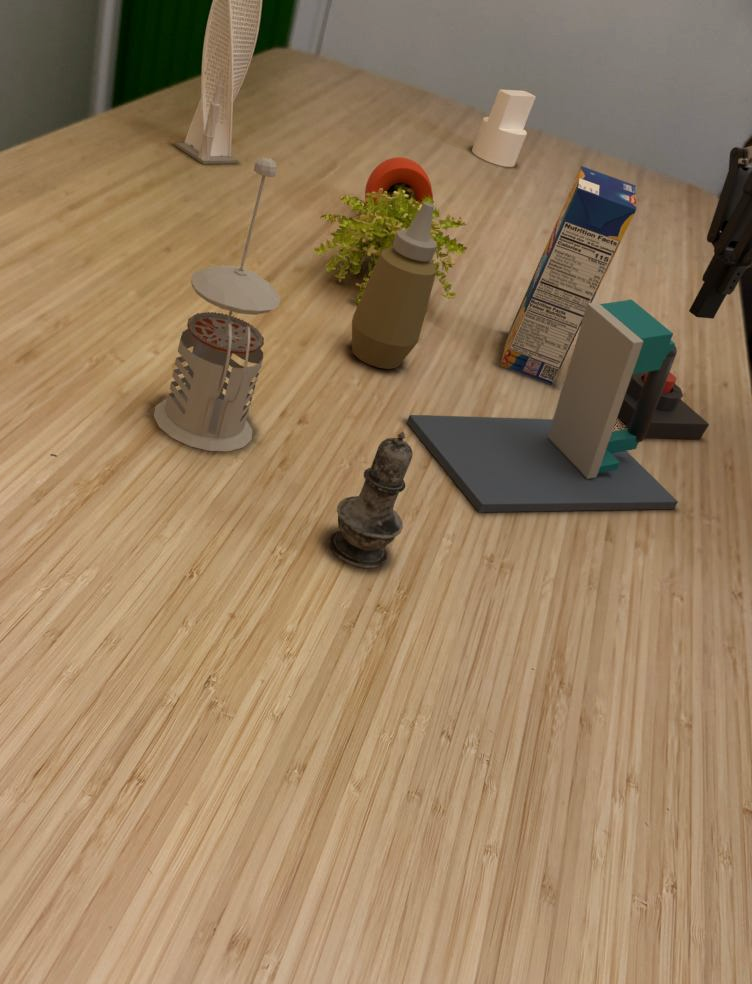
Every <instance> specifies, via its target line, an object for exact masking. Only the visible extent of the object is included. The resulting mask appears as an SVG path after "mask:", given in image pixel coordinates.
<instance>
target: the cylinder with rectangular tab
mask: <svg viewBox="0 0 752 984" xmlns="http://www.w3.org/2000/svg"><path fill="white" fill-rule="evenodd" d="M536 98H537V96H536V95H534V94H532V93H530V92H529V91H526V90H520V89H519V90H517V89H516V90H515V89H498V91H497V93H496V97H495V100H494V102H493V105H492V107H491V110H490V112H489V116H485V117H483V118H482V121H481V124H480V127H479V130H478V131H477V132H478V133H477V134H476V138H475V141H474V143H473V146H472V149H471V152H472V153H473V154H474V155H475V156H476V157H478V158H479V159H481V160H483V161H486V162H488V163H491V164H494V165H497V166H501V167H505V168H506V167H507V168H512V167H515V166H516V164H517V161H518V159H519V155H520V153H521V151H522V148H523V146H524V143H525V140H526V139H527V135H528V132H527V131H526V129H524V128H525V126H526V123H527V121H528V118H529V116H530V114H531V110H532V108H533V107H534V104H535V102H536V101H535V100H536Z"/></svg>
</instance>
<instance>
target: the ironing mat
mask: <svg viewBox="0 0 752 984" xmlns="http://www.w3.org/2000/svg"><path fill="white" fill-rule="evenodd" d="M552 421H553V418H524V417H522V418H521V417H491V416H461V415H460V416H459V415H458V416H457V415H431V414H430V415H429V414H409V415H408V418H407V421H406V424H407V425H408V426H409V427H410V429H411V430H412V431H413V432H414V433H415V435H416V436H417V438H419V440H420V441H421V442H422V444H423V445H424V446H425V447H426V448H427V450H428V451H429V453H430V454H431V455H432V456H433V457H434V459H435V460H436V461H437V463H439V465H440V466H441V467H442V469H443V470H444V471H445V472H446V474H447V475H448V476H449V477H450V478H451V480H452V481H453V482H454V483H455V485H456V486H457V488H459V490H460V491H461V492H462V493H463V495H464V496H465V497H466V498H467V500H468V501H469V503H470V504H472V506H473V507H474V509H476V511H477V512H478V513H507V512H508V513H510V512H511V513H512V512H515V513H516V512H517V513H518V512H567V511H568V512H570V511H571V512H573V511H576V512H577V511H628V510H629V511H630V510H631V511H632V510H640V511H641V510H675V508H676V506H677V504H678V503H679V501H678V500H677V499H676V498H675V497H674V496H673V495H672V494H671V493H670V492H669V491H668V490H667V489H666V488H665V487H664V486H663V485H662V484H661V483H660V482H659V481H658V480H657V479H656V478H655V476H653V475H652V474H650V472H649V471H648V470H646V468H645V467H644V466H642V465H641V463H639V462H638V461H637V459H636V458H635V457H634V456H632V455H631V454H630V453H629V452H628V451H623V452H618V453H613V454H612V455H613V456H614V457H615V458H616V459H617V460H618V461H619V462H620V464H619V466H618V469H617V470H613V471H608V472H603V473H598V474H597V477H594V478H589V479H587V478H586V477H585V476H584V475H583V474H582V473H581V472H580V471H579V470H578V469H577V467H576V466H575V465H574V464H573V463H572V462H571V461H570V460H569V459H568V458H567V457H566V456H565V455H564V454H563V453H562V452H561V451H560V450H559V448H558V447H557V446H556V445H555V444H554V443H553V442H552V441H551V440H550V439H549V438H548V435H549V431H550V428H551V425H552Z"/></svg>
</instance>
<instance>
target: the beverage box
mask: <svg viewBox="0 0 752 984" xmlns="http://www.w3.org/2000/svg"><path fill="white" fill-rule="evenodd" d="M636 186H637V185H635V184H633V183H630V182H627V181H624V180H621V179H619V178H616V177H614V176H610V175H607V174H605V173H603V172H600V171H597V170H594V169H592V168H588V167H586V166H583V165H580V168H579V169H578V172H577V174H576V176H575V179H574V181H573V183H572V186H571V188H570V191H569V193H568V195H567V197H566V199H565V202H564V204H563V206H562V208H561V211H560V213H559V216H558V218H557V220H556V223H555V224H554V227H553V229H552V232H551V234H550V237H549V238H548V241H547V243H546V245H545V248H544V250H543V252H542V255H541V257H540V259H539V262H538V264H537V266H536V268H535V271H534V273H533V275H532V278H531V279H530V282H529V284H528V287H527V289H526V292H525V294H524V296H523V299H522V300H521V303H520V304H519V305H520V306H519V308H518V309H517V312H516V315H515V316H514V319H513V322H512V324H511V326H510V328H509V331H508V333H507V336H506V340H505V345H504V349H503V353H502V357H501V361H500V367H502V368H505V369H507V370H510V371H512V372H516V373H518V374H521V375H524V376H527V377H529V378H532V379H534V380H536V381H540V382H542V383H546V384H548V385H550V386H553V384H554V383H555V379H556V378H557V376H558V374H559V372H560V369H561V367H562V366H563V363H564V361H565V359H566V357H567V355H568V353H569V351H570V349H571V347H572V345H573V343H574V340H575V338H576V336H577V335H578V333H579V330H580V327H581V323H582V320H583V317H584V313H585V310H586V307H587V304H588V303H592V302H594V301H593V300H595V296H596V294H597V293H598V291H599V288H600V286H601V284H602V282H603V280H604V278H605V276H606V274H607V272H608V269H609V267H610V265H611V264H612V261H613V260H614V257H615V255H616V253H617V251H618V249H619V247H620V245H621V242H622V240H623V238H624V237H625V234H626V232H627V230H628V228H629V226H630V224H631V221H632V220H633V217H634V215H635V213H636V211H637V190H636V189H637V187H636Z"/></svg>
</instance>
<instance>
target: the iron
mask: <svg viewBox="0 0 752 984" xmlns="http://www.w3.org/2000/svg"><path fill="white" fill-rule="evenodd" d="M673 335H674V332H672V331H671V330H670V329H669V328H667V327H666V326H665V325H664V324H662V323H661V322H660V321H659V320H657V319H656V318H655V317H654V316H652V315H651V314H650V313H649V312H648V311H647V310H645V308H643V307H641V306H640V305H639V304H638V303H637V302H635V301H634V300H633V299H625V300H618V301H613V302H606V303H600V302H598V301H592V303H588V304H587V307H586V310H585V313H584V317H583V320H582V323H581V326H580V328H579V330H578V333H577V337H576V340H575V343H574V347H573V349H572V353H571V357H570V361H569V364H568V368H567V371H566V374H565V376H564V377H565V378H564V380H563V384H562V387H561V392H560V395H559V398H558V402H557V405H556V408H555V411H554V415H553V418H552V419H553V421H552V425H551V428H550V431H549V435H548V438H549V439H550V440H551V441H552V442H553V443H554V444H555V445H556V446H557V447H558V448H559V450H560V451H561V452H562V453H563V454H564V455H565V456H566V457H567V458H568V459H569V460H570V461H571V462H572V463H573V464H574V465H575V466H576V467H577V469H578V470H579V471H580V472H581V473H582V474H583V475H584V476H585V477H586V478H587V479H589V478H594V477H597V474H598V473H603V472H608V471H613V470H617V469H618V466H619V464H620V462H619V461H618V460H617V459H616V458H615V457H614V456H613V455H612V454H613V453H618V452H623V451H627V452H628V451H633V450H636V449H637V448H638V445H639V443H641V442H642V441H644V439H646V438H645V436H646V433H647V431H648V428H649V425H650V423H651V420H652V417H653V415H654V412H655V409H656V407H657V404H658V401H659V399H660V396H661V393H662V391H663V388H664V385H665V383H666V380H667V377H668V375H669V372H670V373H671V369H672V367H673V364H674V362H675V359H676V356H677V353H678V349H677V346H676V343H675V342H674V341H673V340H672V338H673ZM643 372H648V375H647V377H646V380H645V383H644V386H643V389H642V391H641V394H640V397H639V400H638V402H637V405H636V408H635V411H634V414H633V416H632V419H631V422H630V425H629V427H628V426H627V427H628V428H624V429H618V430H614V428H615V425H616V422H617V419H618V414H619V411H620V408H621V405H622V402H623V399H624V396H625V393H626V391H627V388H628V385H629V382H630V379H631V376H632V374H637V373H643Z"/></svg>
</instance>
